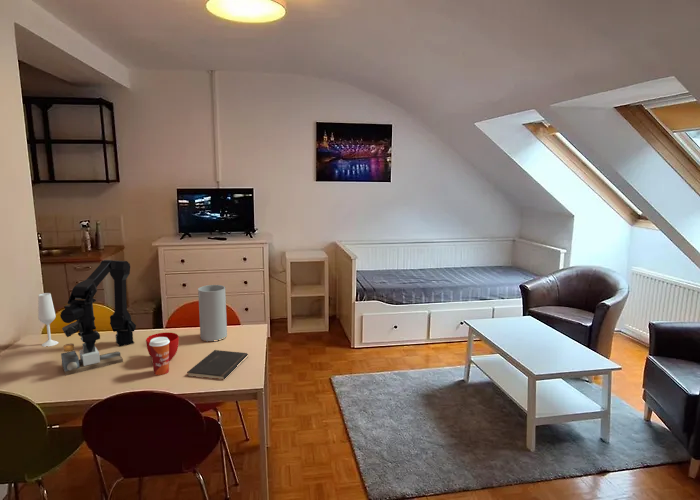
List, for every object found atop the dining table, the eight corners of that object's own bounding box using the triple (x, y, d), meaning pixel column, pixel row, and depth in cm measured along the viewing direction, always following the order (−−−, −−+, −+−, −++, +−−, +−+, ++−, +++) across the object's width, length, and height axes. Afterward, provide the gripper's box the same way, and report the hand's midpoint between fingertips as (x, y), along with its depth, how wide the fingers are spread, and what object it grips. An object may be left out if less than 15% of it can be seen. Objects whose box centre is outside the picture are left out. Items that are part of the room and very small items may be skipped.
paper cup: (159, 378, 180) (156, 344, 178) (147, 373, 184) (144, 340, 182) (175, 370, 187) (173, 338, 184) (164, 366, 191) (162, 334, 188)
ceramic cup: (163, 349, 209) (162, 328, 207) (185, 358, 199) (184, 336, 197) (136, 358, 198) (134, 336, 196) (158, 368, 189) (157, 345, 187)
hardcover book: (187, 377, 182) (187, 372, 182) (214, 354, 205) (214, 349, 204) (224, 381, 179) (224, 375, 179) (248, 357, 202) (248, 353, 201)
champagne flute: (61, 341, 216) (56, 292, 212) (53, 346, 210) (47, 296, 205) (47, 341, 216) (41, 292, 212) (38, 346, 210) (32, 296, 205)
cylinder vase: (222, 342, 217) (220, 291, 213) (196, 342, 217) (194, 291, 213) (230, 333, 230) (228, 285, 225) (205, 332, 230) (203, 284, 225)
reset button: (73, 347, 188) (73, 342, 187) (74, 350, 185) (74, 345, 185) (63, 349, 186) (62, 344, 185) (64, 352, 183) (64, 347, 182)
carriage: (96, 356, 196) (94, 339, 194) (100, 362, 190) (98, 344, 188) (80, 359, 192) (78, 342, 191) (83, 366, 186) (81, 348, 185)
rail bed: (117, 354, 202) (116, 341, 201) (123, 361, 194) (121, 348, 193) (62, 366, 189) (60, 353, 188) (65, 375, 181) (64, 361, 180)
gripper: (59, 313, 189) (63, 348, 192) (66, 325, 175) (70, 363, 178) (89, 308, 196) (93, 342, 199) (98, 319, 182) (102, 356, 185)
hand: (89, 350), depth 190 cm, fingers closed on carriage, 3 cm apart
